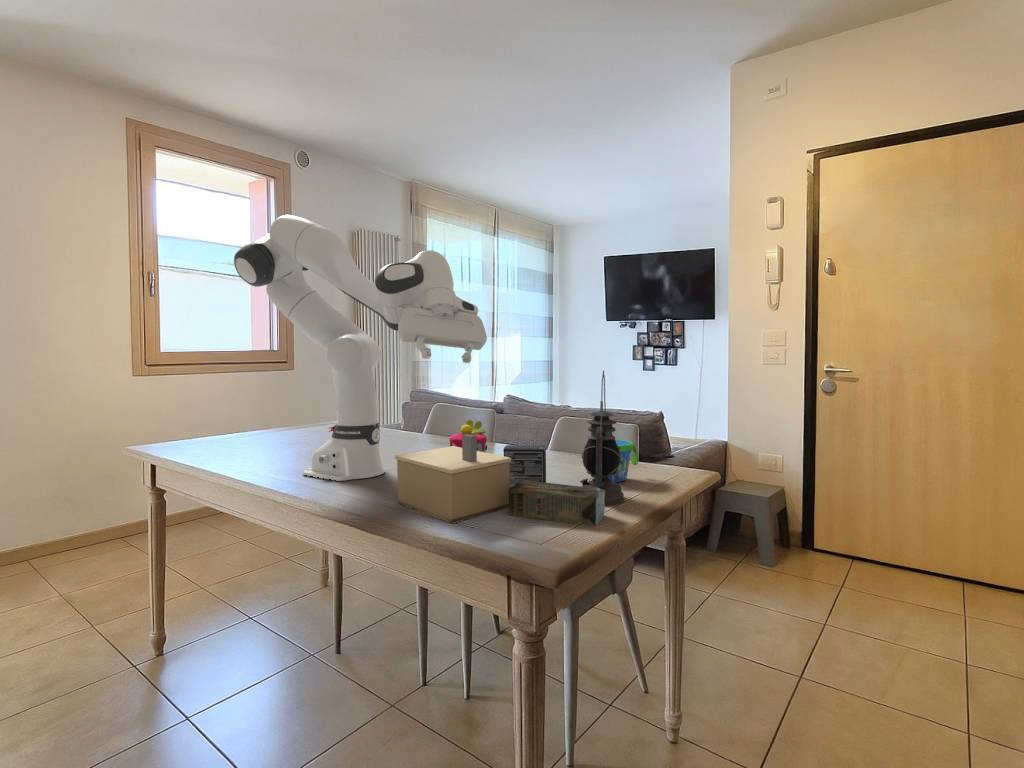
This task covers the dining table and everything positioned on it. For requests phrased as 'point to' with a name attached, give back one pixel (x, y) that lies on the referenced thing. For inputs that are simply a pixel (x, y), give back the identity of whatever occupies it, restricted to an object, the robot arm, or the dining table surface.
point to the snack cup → (625, 460)
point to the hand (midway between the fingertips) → (447, 359)
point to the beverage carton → (557, 502)
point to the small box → (526, 463)
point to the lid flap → (454, 457)
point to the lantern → (602, 455)
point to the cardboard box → (453, 490)
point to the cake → (469, 429)
